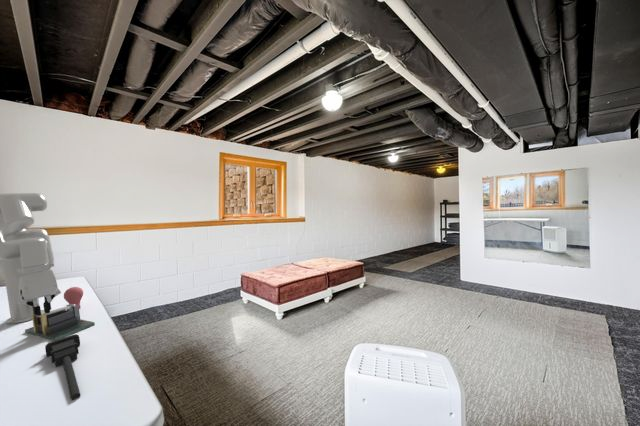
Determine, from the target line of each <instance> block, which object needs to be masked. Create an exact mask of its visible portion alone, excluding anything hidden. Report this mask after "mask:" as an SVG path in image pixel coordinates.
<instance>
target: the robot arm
mask: <svg viewBox="0 0 640 426" xmlns="http://www.w3.org/2000/svg"><path fill="white" fill-rule="evenodd" d="M47 208H48V201H47V199H46V197H45V196H44V195H43V194H41V193H35V192H21V193H19V192H18V193H16V192H15V193H11V192H10V193H0V270H1V272H2V275H3V278H4V282H5V290H6V296H7V301H8V308H9V309H8V310H9V315H10V317H9V318H7V319H6V320H5V323H6V325H10V324H11V325H13V324H18V323H20V324H21V323H24V322H27V321H33V319H32V313H34V315H36V316H40V315H41V313H50V311H52V305H51V303H52V301H53V300H54V298H55V297H56V296H58V295H60V294H62V292H61V290H60V289H59V286H58V283H57V279H56V275H55V273H54V271H53V270H52V269H51V268H52V267H55V264H54V263H55V257H54V253H53V248H52V244H51V240H50V235H49V234H48V231H47V230H46V229H43V228H30V229H28V228H29V227H32V226H33V225H34V224H35V218H34V215H33V213H32V212H44V211H45V210H46V209H47ZM40 298H43V299H44V301H43V309H41V305H40V300H39V299H40Z"/></svg>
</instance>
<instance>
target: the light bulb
mask: <svg viewBox="0 0 640 426" xmlns="http://www.w3.org/2000/svg"><path fill="white" fill-rule="evenodd" d="M83 295H84V291H83V289H82V288H81V287H78V286H72V287H69V288H67V289H66V290H65V292H64V293H63V298H64V301H66V302H67V304H68V305H69V304H74V305H79V310H80V309H81V300H82V297H83Z"/></svg>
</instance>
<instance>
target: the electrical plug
mask: <svg viewBox="0 0 640 426" xmlns="http://www.w3.org/2000/svg"><path fill="white" fill-rule="evenodd" d="M80 346H81V339H80V336H79V334H76V333H74V334H71V335H69V336H66V337H64V338H61V339H59V340H56V341H54V340H52V341H50V342H48V343H46V344H45V348H44V349H45V355H46V357H47V358H51V364H55V367H56V368H57V367H59V366H63V369H64V372H65V376H66V377H65V378H66V382H67V386H68V391H69V395H70V400H71V401H74V400H76V399H79V398H81V392H80V388H79V385H78V384H79V383H78V381H77V377H76V373H75V371H74V366H73V363H72V362H73V361H76V360H78V354H79V347H80Z"/></svg>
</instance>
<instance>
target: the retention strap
mask: <svg viewBox="0 0 640 426" xmlns="http://www.w3.org/2000/svg"><path fill="white" fill-rule="evenodd" d="M68 305H69V304H68ZM72 306H75V305H74V304H70V305H69V306H64V307H59V308H55V309H53V310H52V309H51V310H50V313H41V315H42V314H46V315H49V314H53V313H56V312H60V311H63V310H67V309H70V308H73V307H72ZM37 317H40V316H37Z"/></svg>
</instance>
